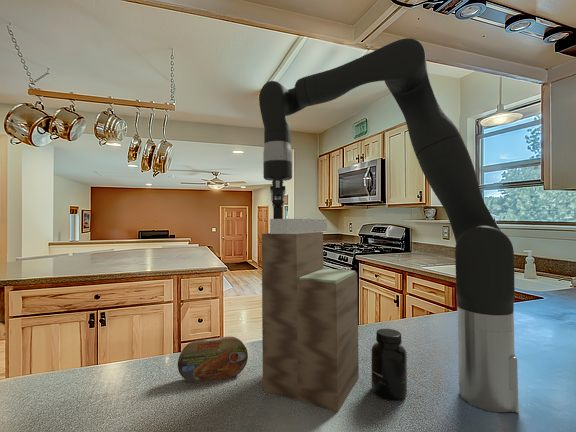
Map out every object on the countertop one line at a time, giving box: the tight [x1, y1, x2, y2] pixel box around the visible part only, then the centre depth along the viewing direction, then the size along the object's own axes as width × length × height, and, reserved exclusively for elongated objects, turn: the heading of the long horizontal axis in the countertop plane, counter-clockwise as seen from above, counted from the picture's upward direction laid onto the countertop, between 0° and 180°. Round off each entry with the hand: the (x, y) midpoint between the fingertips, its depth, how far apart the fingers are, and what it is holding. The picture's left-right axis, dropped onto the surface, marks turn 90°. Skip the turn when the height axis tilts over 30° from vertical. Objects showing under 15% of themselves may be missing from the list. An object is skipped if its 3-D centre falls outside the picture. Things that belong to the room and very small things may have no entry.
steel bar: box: [269, 218, 328, 234], centre depth 72 cm, size 4×22×3 cm, turn 152°
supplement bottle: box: [370, 328, 408, 402], centre depth 63 cm, size 7×7×12 cm
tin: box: [177, 336, 249, 383], centre depth 70 cm, size 15×3×8 cm, turn 105°
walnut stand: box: [261, 231, 360, 413], centre depth 66 cm, size 16×14×32 cm
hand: (278, 223), depth 81 cm, fingers open, 8 cm apart
